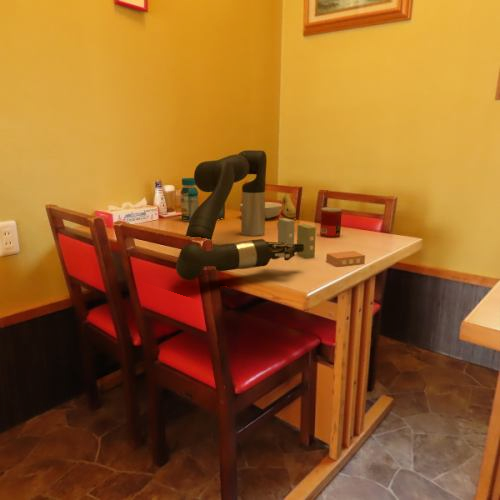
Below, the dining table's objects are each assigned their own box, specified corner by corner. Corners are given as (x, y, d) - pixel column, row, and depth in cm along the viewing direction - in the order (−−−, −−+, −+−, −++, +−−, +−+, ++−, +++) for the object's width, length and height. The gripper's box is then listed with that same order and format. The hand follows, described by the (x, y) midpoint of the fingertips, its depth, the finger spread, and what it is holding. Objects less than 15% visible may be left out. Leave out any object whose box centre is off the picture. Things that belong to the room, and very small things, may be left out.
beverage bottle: (198, 222, 193) (196, 179, 188) (180, 222, 193) (178, 179, 188) (200, 218, 201) (199, 177, 196) (183, 218, 201) (181, 177, 196)
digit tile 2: (307, 258, 133) (308, 228, 130) (296, 254, 138) (297, 224, 136) (314, 257, 134) (316, 227, 132) (304, 253, 140) (305, 224, 137)
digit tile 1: (286, 249, 144) (287, 221, 141) (277, 246, 149) (278, 218, 146) (294, 248, 145) (294, 221, 142) (284, 245, 150) (285, 218, 148)
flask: (215, 221, 195) (215, 198, 192) (210, 220, 196) (210, 198, 194) (226, 218, 203) (225, 196, 200) (221, 218, 204) (220, 196, 202)
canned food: (340, 238, 161) (341, 210, 158) (319, 237, 163) (320, 209, 160) (340, 234, 168) (341, 207, 166) (320, 233, 170) (321, 206, 167)
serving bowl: (289, 216, 208) (289, 203, 206) (268, 223, 190) (268, 208, 189) (254, 213, 218) (254, 200, 217) (231, 219, 201) (231, 205, 199)
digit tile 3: (337, 258, 123) (365, 255, 127) (326, 253, 129) (353, 250, 132) (336, 268, 124) (364, 265, 127) (326, 262, 130) (353, 259, 133)
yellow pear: (289, 231, 173) (290, 196, 169) (274, 227, 182) (275, 193, 178) (302, 230, 176) (303, 195, 172) (287, 225, 185) (288, 192, 181)
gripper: (260, 246, 105) (316, 239, 113) (238, 236, 117) (290, 230, 124) (260, 274, 107) (315, 265, 115) (238, 261, 118) (289, 254, 126)
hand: (302, 247), depth 119 cm, fingers closed
